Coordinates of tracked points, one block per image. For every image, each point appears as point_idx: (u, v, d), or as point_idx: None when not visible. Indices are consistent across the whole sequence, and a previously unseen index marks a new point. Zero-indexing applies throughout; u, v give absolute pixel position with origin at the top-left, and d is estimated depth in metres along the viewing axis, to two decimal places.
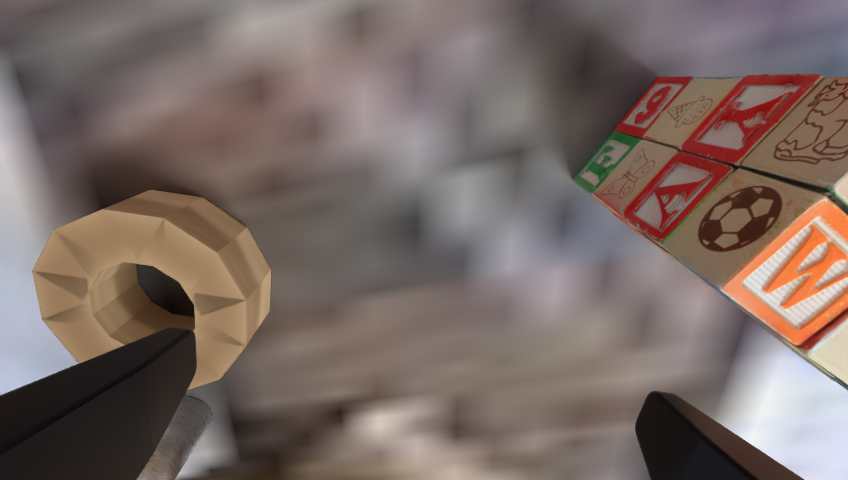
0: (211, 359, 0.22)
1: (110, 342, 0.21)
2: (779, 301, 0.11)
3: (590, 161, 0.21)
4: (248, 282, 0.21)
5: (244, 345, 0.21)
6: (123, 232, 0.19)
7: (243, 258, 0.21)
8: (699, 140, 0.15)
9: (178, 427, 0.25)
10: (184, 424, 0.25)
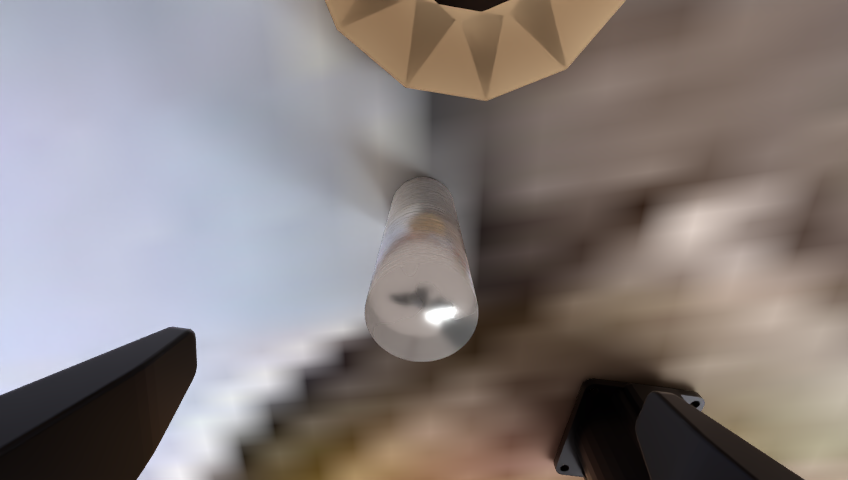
0: (564, 25, 0.13)
1: None
2: None
3: None
4: None
5: None
6: None
7: None
8: None
9: (441, 196, 0.16)
10: (445, 196, 0.16)
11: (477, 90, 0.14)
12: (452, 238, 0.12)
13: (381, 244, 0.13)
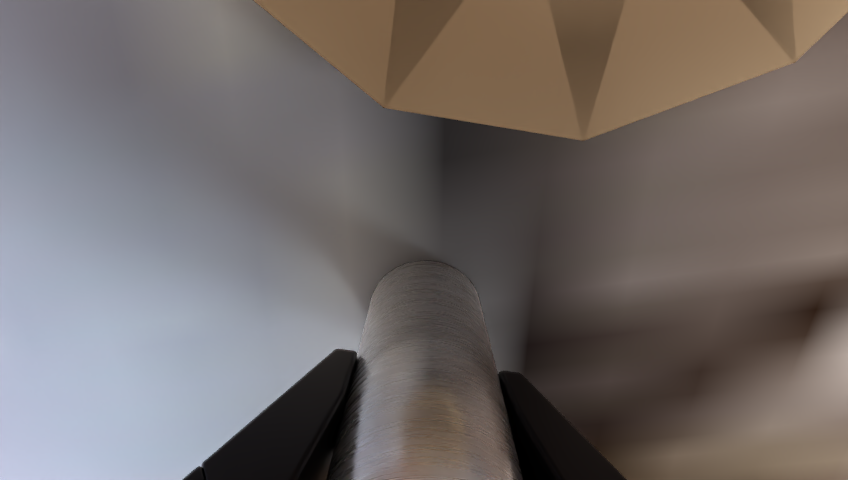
0: None
1: None
2: None
3: None
4: None
5: None
6: None
7: None
8: None
9: (464, 320, 0.08)
10: (470, 317, 0.08)
11: (563, 115, 0.05)
12: None
13: None
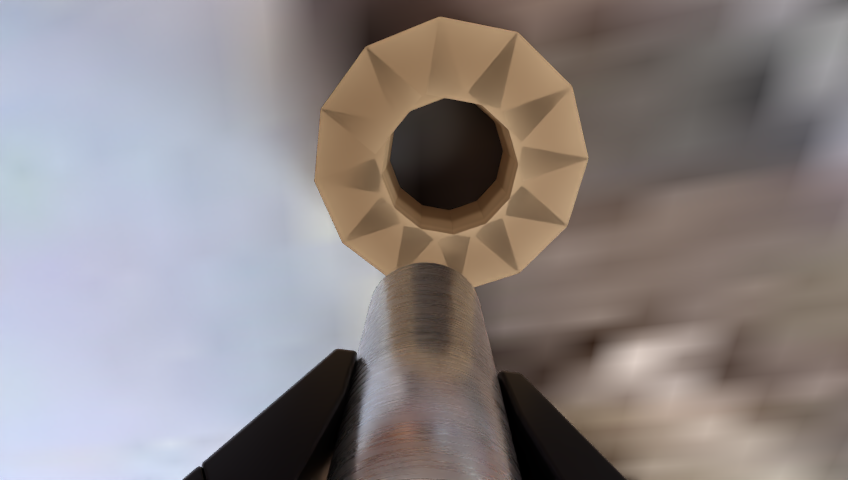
0: (516, 244, 0.17)
1: (393, 216, 0.16)
2: None
3: None
4: None
5: (565, 225, 0.16)
6: (457, 52, 0.14)
7: None
8: None
9: (463, 322, 0.08)
10: (470, 319, 0.08)
11: None
12: None
13: None
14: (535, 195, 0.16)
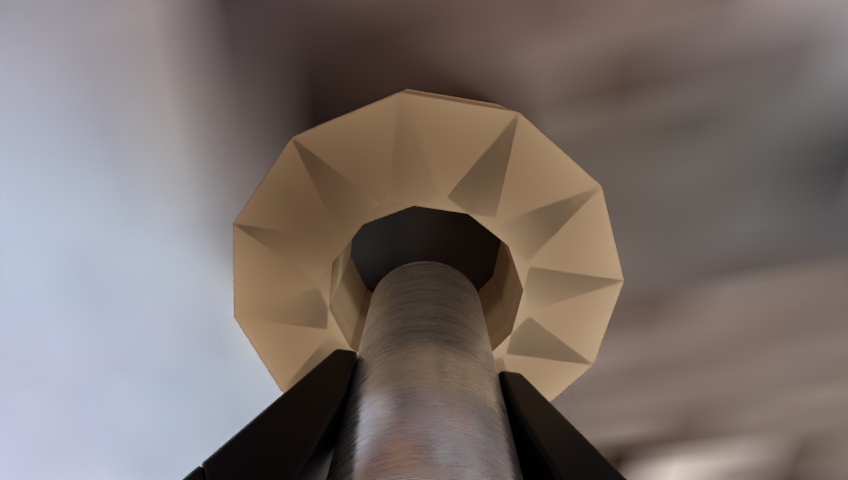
0: None
1: None
2: None
3: None
4: None
5: (590, 363, 0.12)
6: (429, 143, 0.10)
7: None
8: None
9: (464, 321, 0.08)
10: (470, 318, 0.08)
11: None
12: None
13: None
14: (548, 328, 0.11)
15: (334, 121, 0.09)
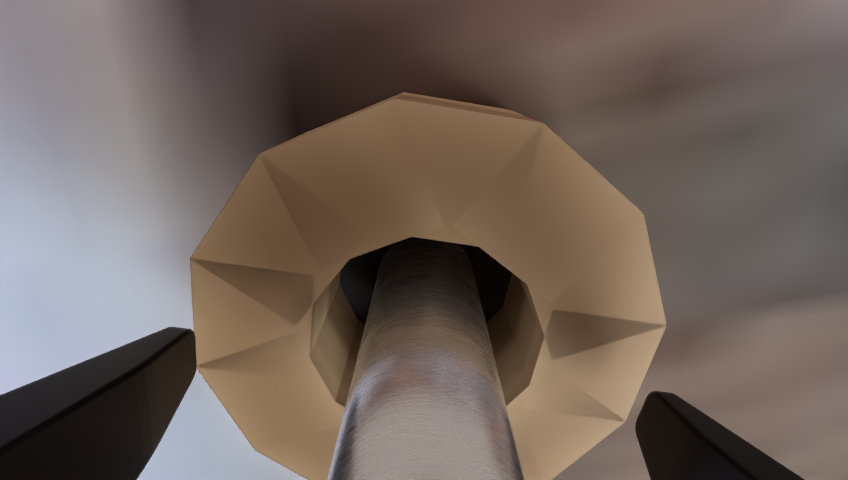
0: (540, 447, 0.10)
1: (335, 414, 0.10)
2: None
3: None
4: None
5: (622, 420, 0.10)
6: (431, 161, 0.08)
7: None
8: None
9: (457, 274, 0.10)
10: (463, 273, 0.10)
11: None
12: (488, 414, 0.06)
13: (347, 400, 0.07)
14: (573, 380, 0.09)
15: (311, 134, 0.07)
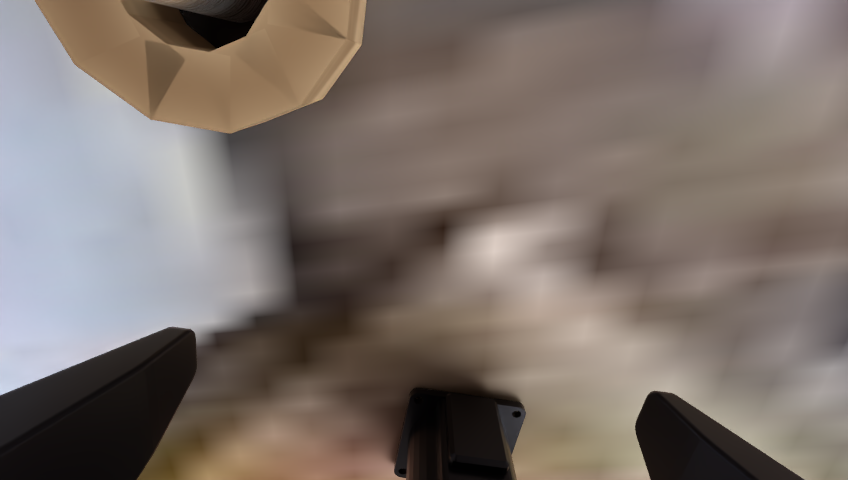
0: (289, 65, 0.14)
1: (129, 26, 0.13)
2: None
3: None
4: None
5: (344, 37, 0.13)
6: None
7: None
8: None
9: None
10: None
11: (219, 123, 0.14)
12: None
13: None
14: None
15: None
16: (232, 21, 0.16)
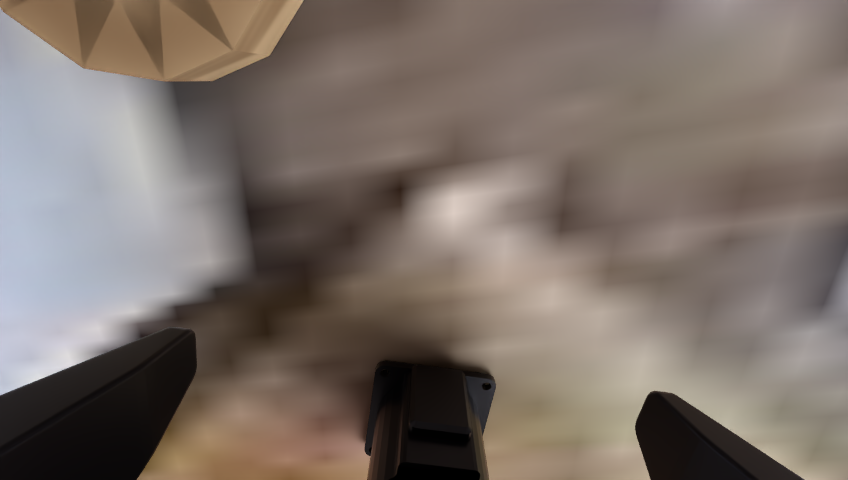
0: (219, 7, 0.13)
1: None
2: None
3: None
4: None
5: None
6: None
7: None
8: None
9: None
10: None
11: (152, 71, 0.14)
12: None
13: None
14: None
15: None
16: None
